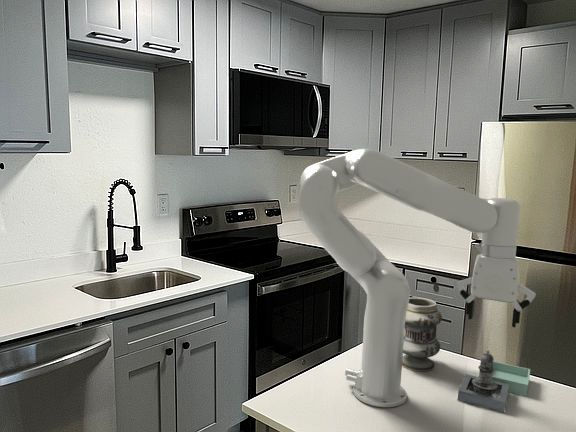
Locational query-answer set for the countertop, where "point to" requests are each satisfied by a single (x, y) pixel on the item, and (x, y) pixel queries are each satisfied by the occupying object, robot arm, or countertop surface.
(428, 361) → the apothecary jar
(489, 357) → the salt shaker
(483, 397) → the grey square frame
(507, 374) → the tray
